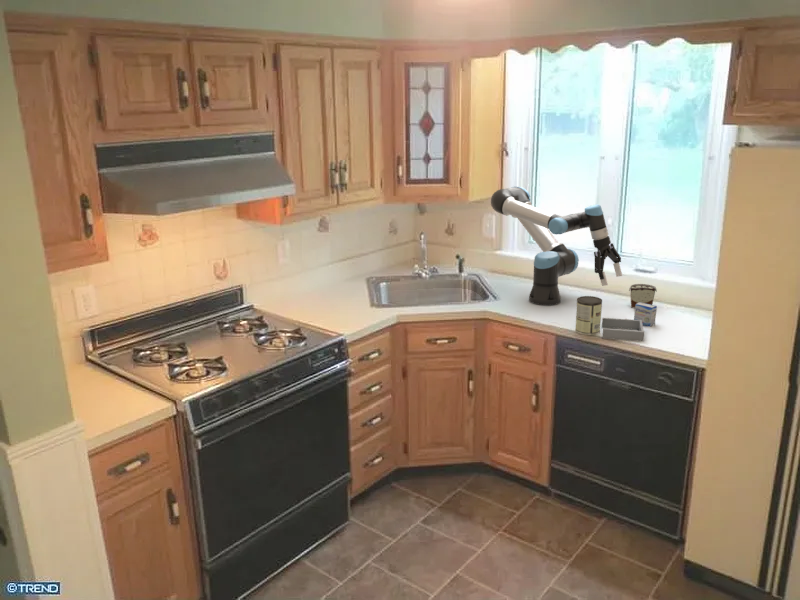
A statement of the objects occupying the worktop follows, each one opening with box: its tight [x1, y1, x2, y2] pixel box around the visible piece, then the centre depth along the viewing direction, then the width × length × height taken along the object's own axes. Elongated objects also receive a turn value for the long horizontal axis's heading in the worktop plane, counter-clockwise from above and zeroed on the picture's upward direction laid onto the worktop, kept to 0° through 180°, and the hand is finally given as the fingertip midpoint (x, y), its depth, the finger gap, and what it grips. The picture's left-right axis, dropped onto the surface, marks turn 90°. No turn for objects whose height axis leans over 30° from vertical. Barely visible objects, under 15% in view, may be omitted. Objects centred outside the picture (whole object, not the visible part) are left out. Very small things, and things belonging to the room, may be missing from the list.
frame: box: [601, 317, 645, 342], centre depth 285 cm, size 16×15×4 cm
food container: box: [628, 283, 658, 309], centre depth 320 cm, size 12×6×10 cm, turn 84°
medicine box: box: [633, 302, 657, 327], centre depth 296 cm, size 8×4×9 cm, turn 45°
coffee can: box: [575, 295, 603, 336], centre depth 287 cm, size 10×10×14 cm
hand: (612, 280), depth 321 cm, fingers open, 13 cm apart
